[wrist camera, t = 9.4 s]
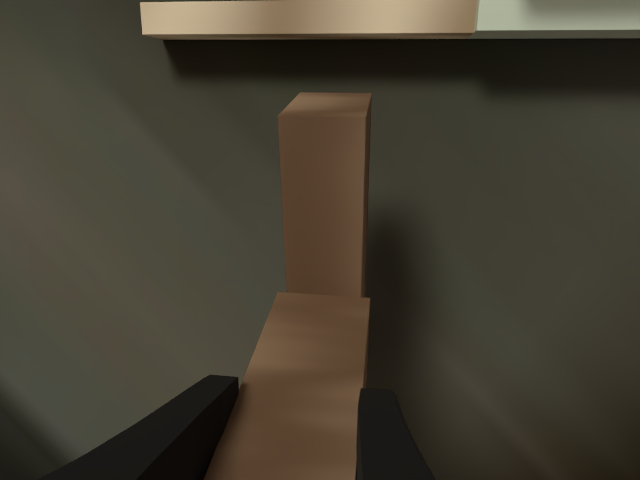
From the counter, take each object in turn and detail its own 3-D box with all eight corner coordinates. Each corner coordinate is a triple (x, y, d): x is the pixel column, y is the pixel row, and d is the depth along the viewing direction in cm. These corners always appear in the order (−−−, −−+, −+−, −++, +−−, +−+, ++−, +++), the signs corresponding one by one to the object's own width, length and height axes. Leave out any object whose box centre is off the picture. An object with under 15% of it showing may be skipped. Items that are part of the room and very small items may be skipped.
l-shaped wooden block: (380, 93, 14) (359, 233, 6) (367, 414, 19) (347, 719, 11) (291, 92, 14) (152, 224, 6) (303, 408, 19) (238, 701, 11)
